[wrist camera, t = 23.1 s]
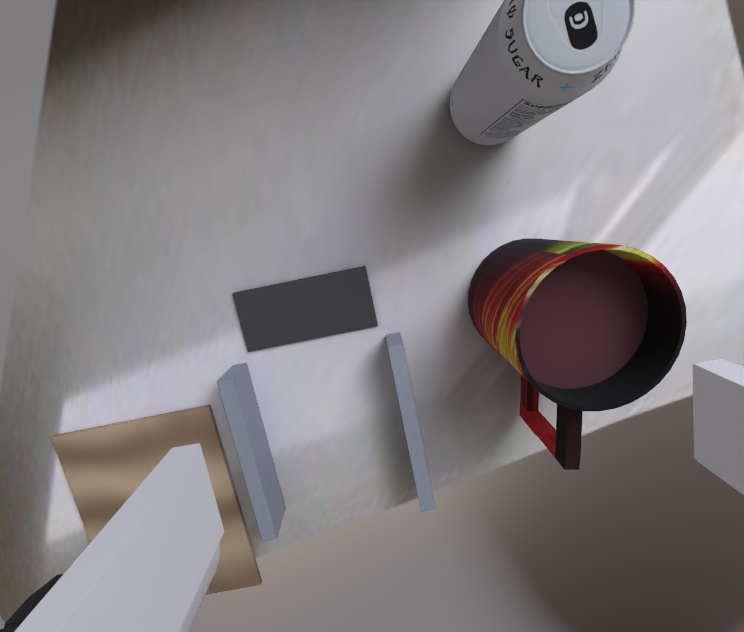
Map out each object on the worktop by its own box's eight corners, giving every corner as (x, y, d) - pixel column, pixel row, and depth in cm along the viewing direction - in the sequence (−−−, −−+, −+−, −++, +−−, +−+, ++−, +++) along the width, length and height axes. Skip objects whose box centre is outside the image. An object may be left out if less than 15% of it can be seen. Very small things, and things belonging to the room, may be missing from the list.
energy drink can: (513, 49, 33) (630, -93, 18) (536, 130, 34) (664, 58, 19) (436, 80, 33) (490, -34, 19) (462, 159, 34) (531, 110, 20)
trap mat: (233, 292, 36) (232, 293, 36) (365, 265, 36) (365, 266, 36) (249, 350, 37) (248, 351, 37) (377, 324, 37) (377, 325, 37)
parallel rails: (232, 365, 38) (216, 382, 34) (399, 332, 37) (403, 344, 33) (272, 510, 40) (262, 541, 36) (429, 481, 40) (435, 508, 36)
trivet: (54, 435, 39) (51, 437, 38) (210, 404, 38) (208, 406, 38) (118, 607, 42) (116, 611, 42) (261, 581, 42) (260, 584, 41)
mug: (517, 413, 39) (582, 495, 27) (447, 273, 36) (486, 296, 24) (620, 363, 38) (733, 425, 26) (556, 216, 35) (650, 212, 24)
